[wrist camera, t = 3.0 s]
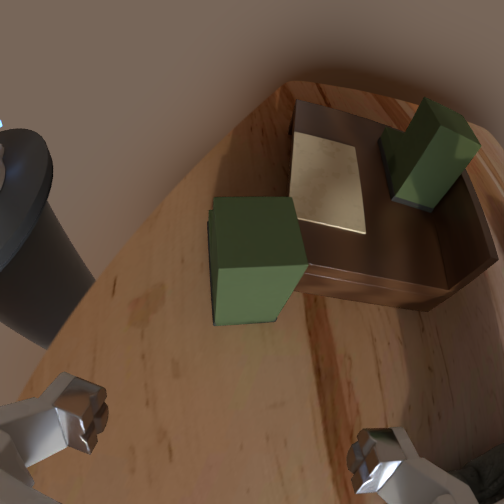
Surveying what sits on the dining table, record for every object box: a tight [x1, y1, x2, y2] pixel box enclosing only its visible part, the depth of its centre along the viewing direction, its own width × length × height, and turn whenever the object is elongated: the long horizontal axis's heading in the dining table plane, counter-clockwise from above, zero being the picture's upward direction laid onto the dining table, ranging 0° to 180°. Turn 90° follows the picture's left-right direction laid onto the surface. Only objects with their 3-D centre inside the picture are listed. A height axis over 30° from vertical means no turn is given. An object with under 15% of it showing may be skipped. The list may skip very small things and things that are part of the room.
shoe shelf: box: [286, 99, 499, 312], centre depth 29 cm, size 17×24×11 cm
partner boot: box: [377, 97, 481, 213], centre depth 26 cm, size 5×10×10 cm, turn 171°
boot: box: [207, 197, 309, 326], centre depth 23 cm, size 5×10×10 cm, turn 7°
